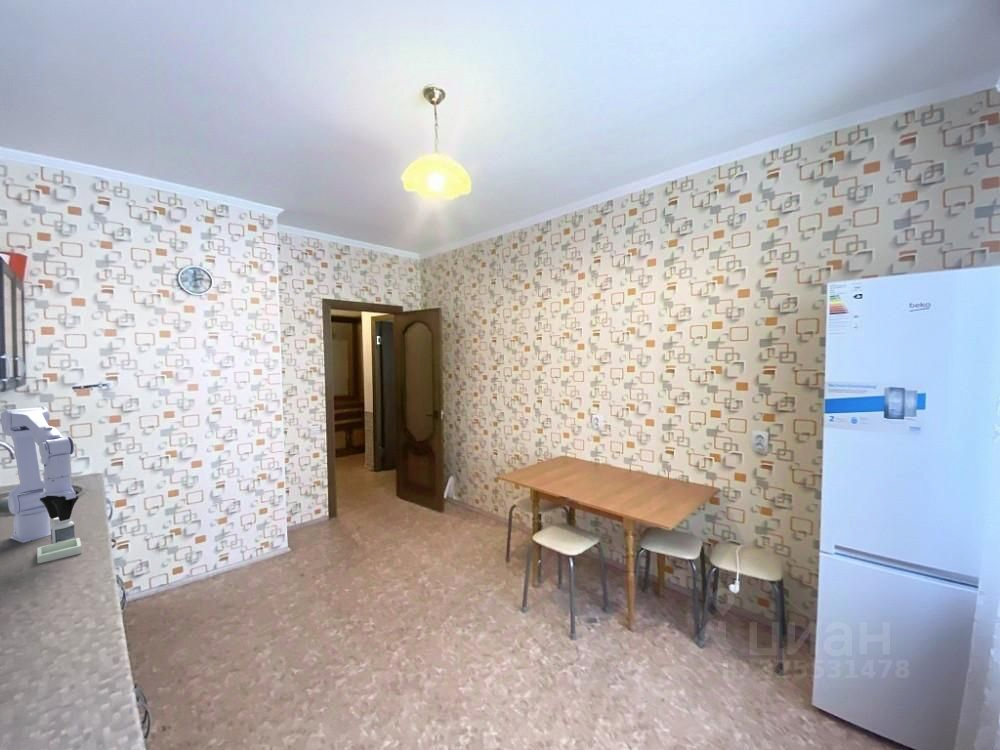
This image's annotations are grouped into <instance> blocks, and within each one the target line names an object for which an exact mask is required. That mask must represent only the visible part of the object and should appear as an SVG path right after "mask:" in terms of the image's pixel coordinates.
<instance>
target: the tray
mask: <svg viewBox="0 0 1000 750" xmlns="http://www.w3.org/2000/svg"><path fill="white" fill-rule="evenodd" d="M36 553H37V554H36V555H37V556H36V558H37V561H36V562H37V564H41V563H47V562H50V561H55V560H59V559H63V558H68V557H71V556H75V555H79V554H82V553H83V552H82V542H81V538H80V537H77V538H76V537H75V539H71V540H67V541H63V542H58V543H54V544H51V543H50V544H47V545H46V544H45V545H43V546H38V547H37V552H36Z"/></svg>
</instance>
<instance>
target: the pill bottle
mask: <svg viewBox="0 0 1000 750" xmlns="http://www.w3.org/2000/svg"><path fill="white" fill-rule="evenodd" d="M52 523H53V525H50V530H51V535H50V544H54V543H58V542H63V541H67V540H71V539H76V534H75V532H76V530H75V522H74V521H72V516H71V517H70V519H68V520H64V521H60V520H59V518H58V517H57V518H53V519H52Z"/></svg>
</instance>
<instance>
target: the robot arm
mask: <svg viewBox="0 0 1000 750" xmlns="http://www.w3.org/2000/svg"><path fill="white" fill-rule="evenodd" d="M0 414H1V415H0V423H1V430H2V432H3V436H7V437H11V440H12V442H13V448H14V455H15V459H16V466H17V474H18V479H19V485H17V486H15V487H14V488H13V489H11V490H10V491H9V492H8V495H7V496H8V500H7V502H8V503H7V504H8V510H9V513H10V514H12V515H14V517H13V521H12V523H13V524H12V525H13V536H10V537H9V539H12V540H14V541H17V542H20V543H28V542H31V540H32V541H35V540H39V539H42V538H46V537H48V536H50V537H51V520H53V518H57V517H58V518H59V520H60V521H64V520H68V519H70V517H71V518H72V512H73V509H74V507H75V504H76V502H77V501H78V500H79V495H77V494H76V493H77V492H76V491H75V490H74V487H73V481H72V462H71V461H72V460H71V459H72V458H71V455H73V453H74V451H75V445H74V441H73V439H72V437H71V436H64V435H62V433H61V432H60V431H59V429H57V427H54V426H52V425H49V424H48V423H49V422H50V420H51V419H50V417H51V416H50V412H49V409H48V408H47V407H46V406H41V407H40V406H39V407H30V408H29V407H28V408H27V407H26V408H16V409H15V408H14V409H13V408H12V409H4V410H3V411H2V412H1V413H0ZM36 445H37V446H38V451H39V455H40V459H41V464H43V474H44V476H43V477H44V480H42V478H41V471H40V465H39V459H38V453H37V447H36Z"/></svg>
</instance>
